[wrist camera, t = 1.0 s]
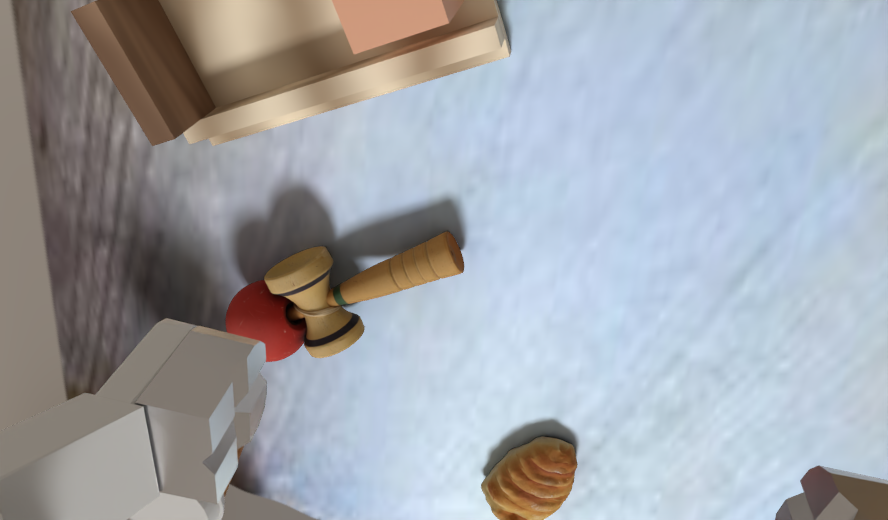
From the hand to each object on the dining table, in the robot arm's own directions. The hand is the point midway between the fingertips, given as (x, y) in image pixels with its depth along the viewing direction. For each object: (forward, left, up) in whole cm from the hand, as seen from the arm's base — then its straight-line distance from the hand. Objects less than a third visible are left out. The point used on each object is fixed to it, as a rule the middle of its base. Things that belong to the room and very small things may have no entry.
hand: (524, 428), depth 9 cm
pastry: (+11, +36, -30) cm, 49 cm away
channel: (+13, -4, -30) cm, 33 cm away
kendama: (+19, +14, -30) cm, 38 cm away
